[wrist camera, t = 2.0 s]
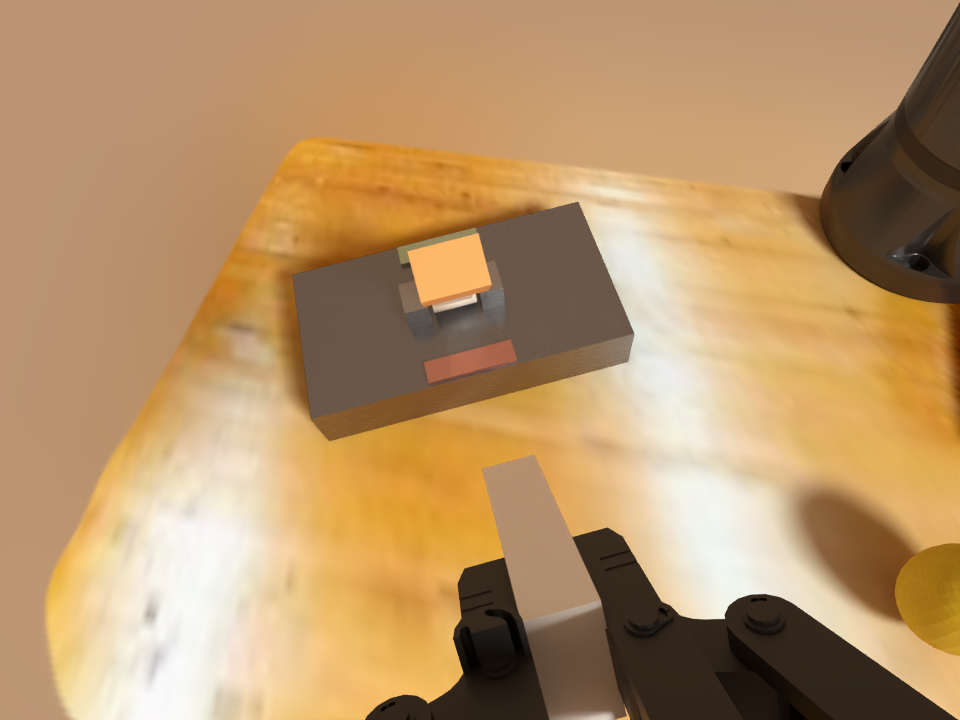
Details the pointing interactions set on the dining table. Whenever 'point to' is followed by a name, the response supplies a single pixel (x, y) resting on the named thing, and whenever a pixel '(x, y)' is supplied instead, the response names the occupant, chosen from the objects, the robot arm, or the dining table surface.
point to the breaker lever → (450, 273)
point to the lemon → (932, 596)
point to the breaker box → (457, 325)
